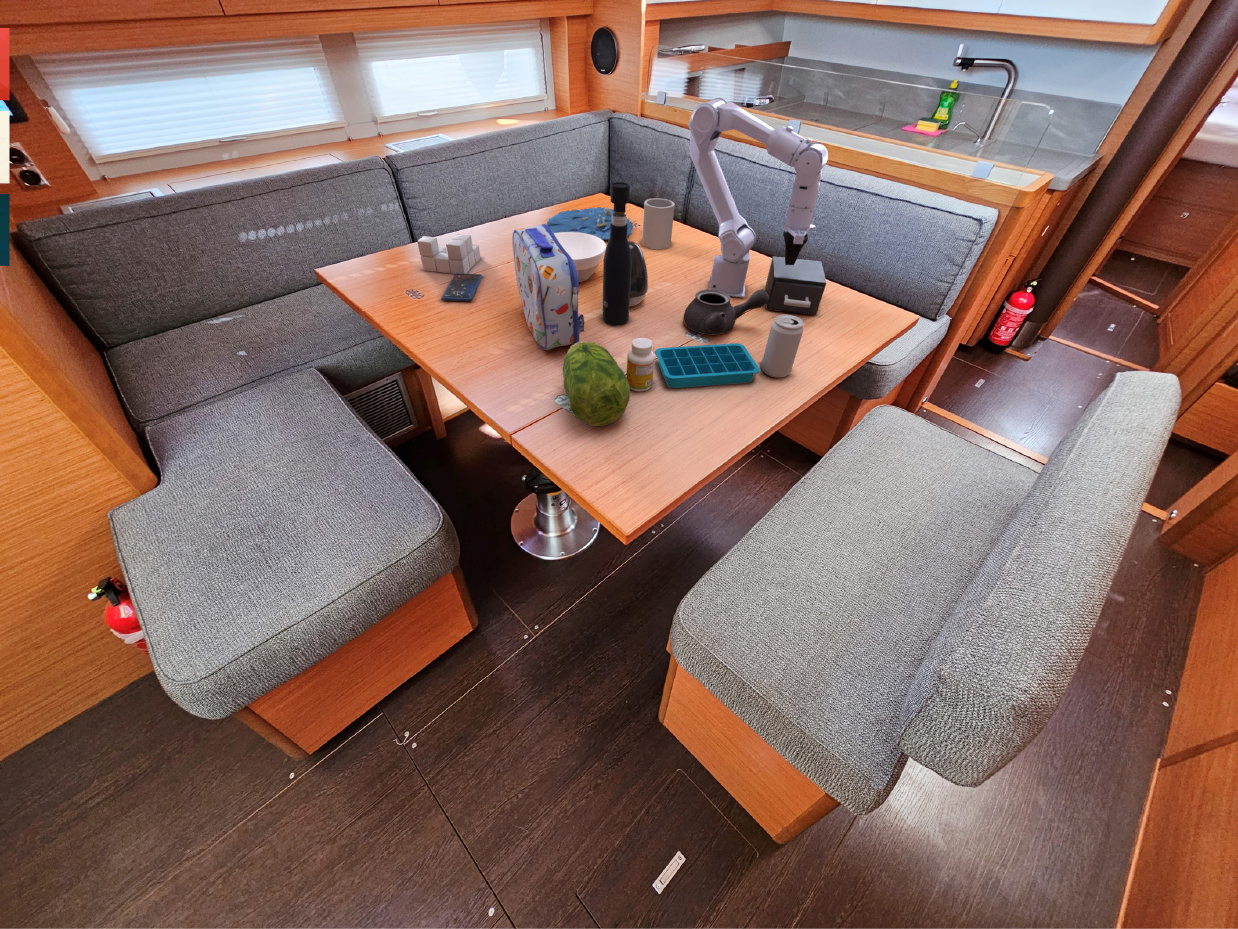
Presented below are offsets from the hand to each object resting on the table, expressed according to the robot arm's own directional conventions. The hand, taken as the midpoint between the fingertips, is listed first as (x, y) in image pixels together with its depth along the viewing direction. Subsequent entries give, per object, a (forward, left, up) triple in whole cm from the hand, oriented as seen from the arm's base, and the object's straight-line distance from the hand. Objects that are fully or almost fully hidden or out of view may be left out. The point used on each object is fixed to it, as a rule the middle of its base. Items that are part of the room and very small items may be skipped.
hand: (789, 264), depth 128 cm
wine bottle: (-40, -20, -11) cm, 46 cm away
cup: (-37, +32, -11) cm, 50 cm away
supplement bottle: (-30, -46, -11) cm, 56 cm away
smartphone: (-82, -14, -11) cm, 84 cm away
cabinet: (+3, +2, -10) cm, 11 cm away
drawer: (+3, -1, -9) cm, 10 cm away
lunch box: (-54, -29, -11) cm, 62 cm away
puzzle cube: (-91, 0, -11) cm, 92 cm away
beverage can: (-2, -34, -11) cm, 35 cm away
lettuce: (-38, -53, -11) cm, 67 cm away
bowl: (-57, +2, -11) cm, 58 cm away
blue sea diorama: (-60, +40, -11) cm, 73 cm away
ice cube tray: (-17, -38, -11) cm, 43 cm away
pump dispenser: (-39, -10, -11) cm, 42 cm away
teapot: (-14, -18, -11) cm, 25 cm away
